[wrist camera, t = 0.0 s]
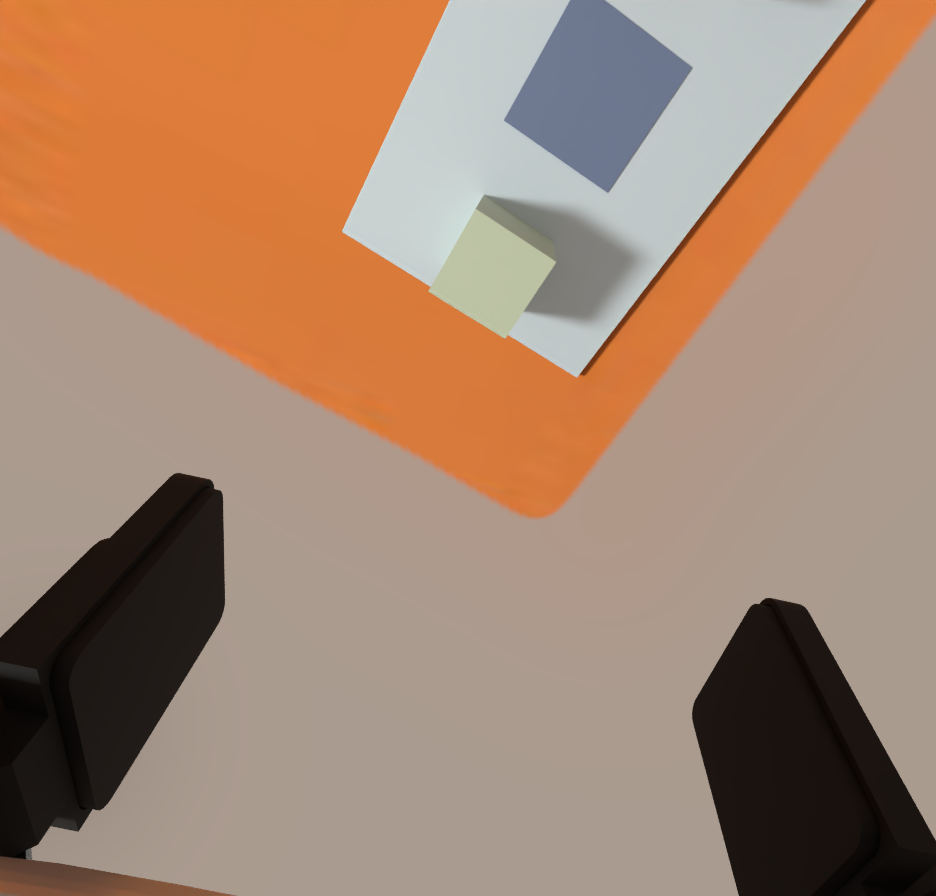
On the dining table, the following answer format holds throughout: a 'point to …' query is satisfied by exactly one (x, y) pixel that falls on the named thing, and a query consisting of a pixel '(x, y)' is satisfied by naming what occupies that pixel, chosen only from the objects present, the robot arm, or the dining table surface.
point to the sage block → (495, 267)
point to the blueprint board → (584, 138)
